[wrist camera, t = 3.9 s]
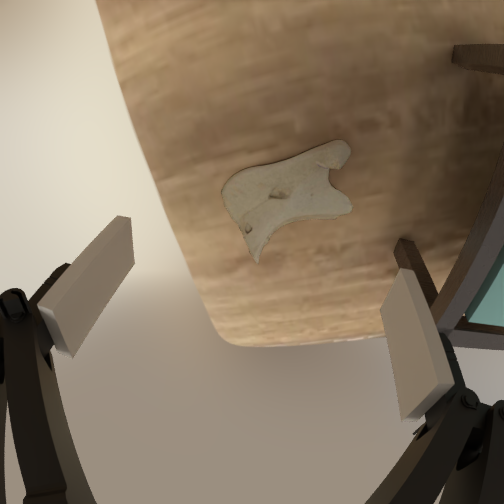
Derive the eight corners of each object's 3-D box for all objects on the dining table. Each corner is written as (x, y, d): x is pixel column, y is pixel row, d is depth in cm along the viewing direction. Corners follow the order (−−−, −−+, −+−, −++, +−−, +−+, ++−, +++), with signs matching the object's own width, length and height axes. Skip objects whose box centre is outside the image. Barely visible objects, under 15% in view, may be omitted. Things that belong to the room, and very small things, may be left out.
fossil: (371, 204, 24) (379, 223, 22) (254, 247, 28) (248, 270, 25) (340, 126, 21) (346, 135, 19) (215, 181, 25) (203, 197, 23)
